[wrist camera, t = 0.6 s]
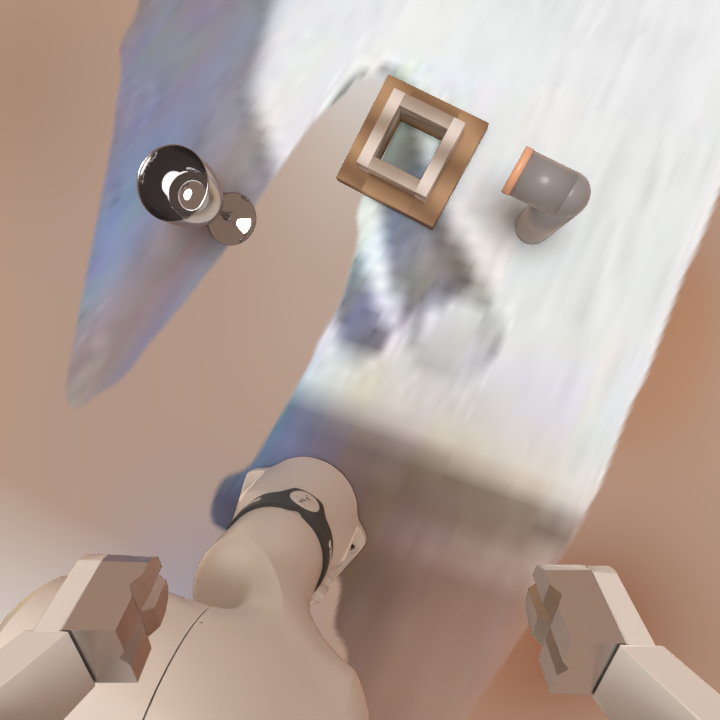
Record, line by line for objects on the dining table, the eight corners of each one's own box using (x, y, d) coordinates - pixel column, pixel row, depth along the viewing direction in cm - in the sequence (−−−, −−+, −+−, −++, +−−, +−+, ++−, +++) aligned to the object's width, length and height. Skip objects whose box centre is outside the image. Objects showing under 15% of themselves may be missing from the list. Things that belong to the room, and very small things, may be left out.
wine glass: (219, 179, 62) (155, 131, 48) (268, 205, 62) (220, 164, 47) (194, 232, 63) (124, 201, 49) (243, 258, 63) (187, 234, 48)
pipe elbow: (558, 217, 57) (608, 175, 42) (539, 251, 57) (581, 221, 42) (502, 189, 58) (531, 137, 42) (484, 222, 58) (505, 183, 43)
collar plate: (432, 229, 59) (432, 222, 55) (338, 181, 60) (332, 170, 56) (487, 128, 57) (491, 113, 53) (389, 81, 59) (386, 62, 55)
